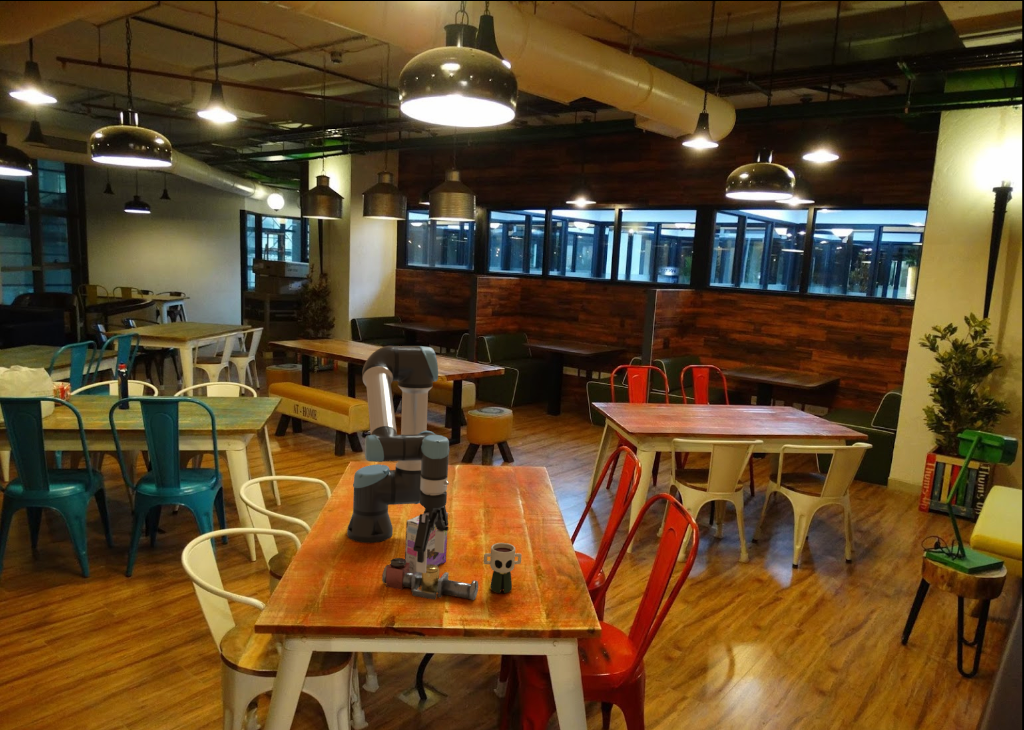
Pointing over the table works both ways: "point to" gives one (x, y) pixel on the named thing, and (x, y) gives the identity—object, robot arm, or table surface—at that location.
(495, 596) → the table surface
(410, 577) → the pipe run
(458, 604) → the table surface
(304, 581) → the table surface
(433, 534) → the candy box
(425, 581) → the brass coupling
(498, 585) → the character mug
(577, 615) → the table surface
